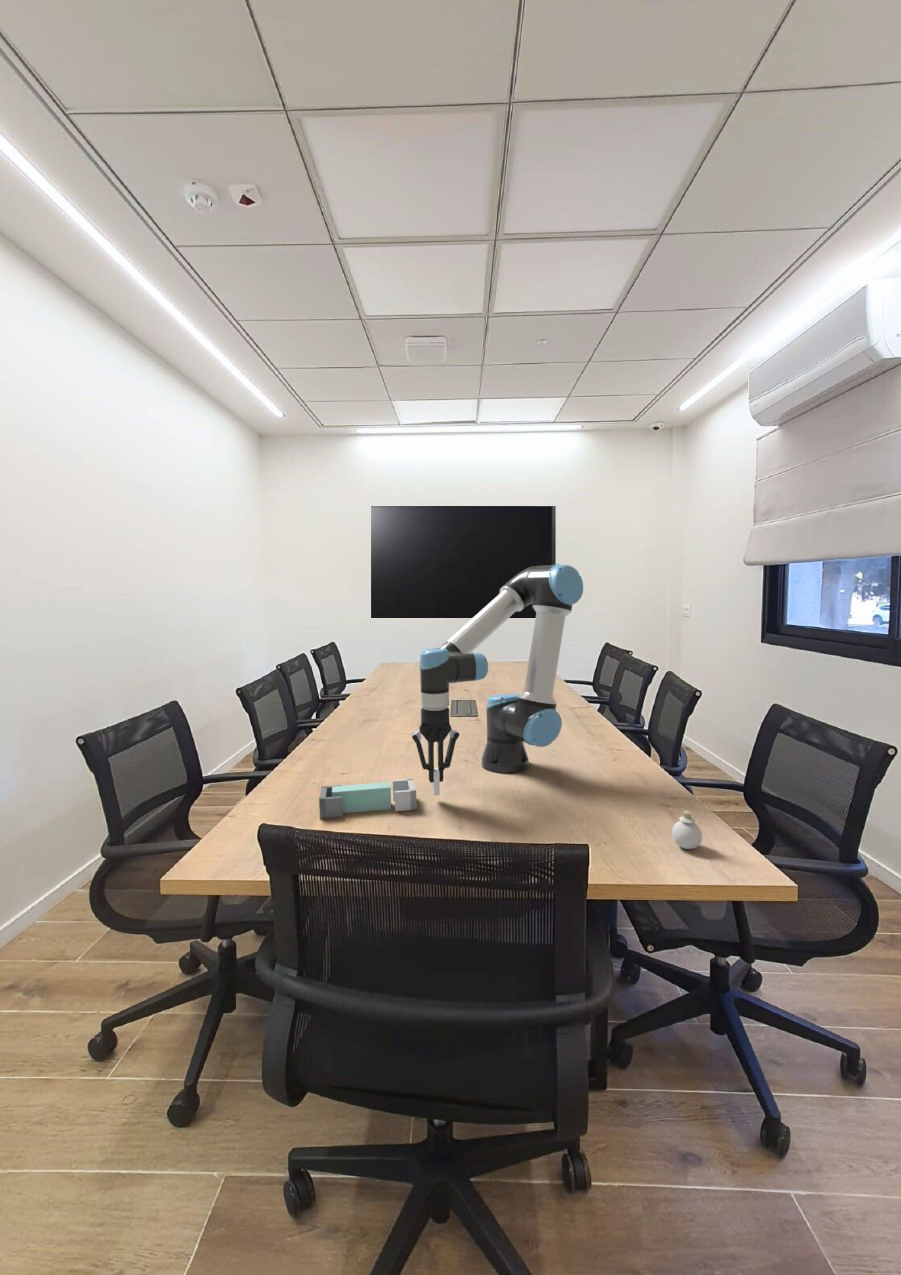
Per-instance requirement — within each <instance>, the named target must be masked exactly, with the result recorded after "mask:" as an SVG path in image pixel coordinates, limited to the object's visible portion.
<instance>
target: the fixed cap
mask: <svg viewBox="0 0 901 1275" xmlns="http://www.w3.org/2000/svg"><path fill="white" fill-rule="evenodd" d="M334 786H343V785H342V784H338V785H337V784H336V785H326V786H325V785H324V786H323V785H322V786H321V787H320V791H319V792H320V793H319V798H318V804H319V806H318V807H319V819H320V818H322V819H333V818H332V817H334V818H342V817H343V813H342V796H338V797H332V787H334Z"/></svg>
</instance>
